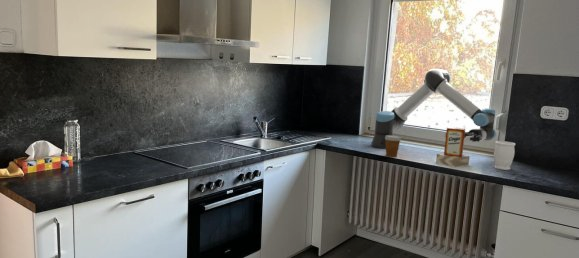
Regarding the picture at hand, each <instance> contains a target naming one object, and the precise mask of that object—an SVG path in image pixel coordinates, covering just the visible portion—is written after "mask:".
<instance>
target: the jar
mask: <svg viewBox="0 0 579 258" xmlns="http://www.w3.org/2000/svg"><path fill="white" fill-rule="evenodd" d="M494 143H495V146H494V150H493V160H494V166H493V168H494V169H497V170H502V171H508V170H511V165H512V164H513V160H514V157H515V152H516V151H515V146H516V143H515V142H512V141H505V140H496V141H495V142H494Z"/></svg>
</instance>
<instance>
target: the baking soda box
mask: <svg viewBox="0 0 579 258" xmlns="http://www.w3.org/2000/svg"><path fill="white" fill-rule="evenodd" d="M465 132H466V128H462V127H453V126H452V127H451V126H447V127H446V131H445V133H446V137H445V143H444V144H445V145H444V152H443V153H444V155H448V156H456V157H462V155H464V154H463V153H464V147H465V146H464V144H465V138H464V137H465Z"/></svg>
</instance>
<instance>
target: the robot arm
mask: <svg viewBox="0 0 579 258" xmlns="http://www.w3.org/2000/svg"><path fill="white" fill-rule="evenodd" d="M450 82H451V75H450V73H449V72H448V71H447V70H445V69H443V68H431V69H429V70H428V71H427V72H426V73H425V75H424V79H423V83H422V85H420V86H419V87H418V88H417V89H416V90H415V91H414V92H413V93H412V94H411V95H410V96H408V98H407V99H406V100H405V101H404V102H402V103H401V105H399V106H398V107H394V108H393V109H392V110H391V111H388V110H384V111H383V110H382V111H378V112H376V114H375V115H376V116H375V124H374V125H375V126H374V135H373V137H372V140H371V144H370V146H371V147H373V148H377V149H378V148H379V149H386V139H385V137H386V135H393V131H395V130H398V129H400V128H402V127H403V126H404V125H405V122H407V121H408V117H409V115H411V114H412V113H413V112H414V111H415V110H416V109H417V108H419V106H421V104H423V102H425V101H426V100H427V99H428V98H429V97H430V96H431V95H432V94H437V93H439V94H440V95H442V96H443V97H444V98H445V99H446V100H448V101H449V102H450V103H451V104H453V105H454V106H455V107H456V108H457V109H459V111H461V112H462V113H463V114H465V116H467V117H468V118H469V119H471V121H472V122H473V124H474V125H475V126H477V127H479V128H472V129H470V130H469V131H465V137H464V142H472V143H473V142H475V143H476V142H478V143H480V142H481V141H482V142H483V141H486V142H487V141H491V140H494V139H495V138H496V136H497V132H496V129H494V126H495V125H494V124H495V118H496V110H495V109H494V108H482V109H480V108H479V106H477V105H476V104H475V103H473V102H472V101H471V100H470V99H468V98H467V97H466V96H465V95H463V94H462V93H461V92H460V91H458V90H457V89H456V88H455V87H454V86H452V85H451V84H450ZM443 136H444V138H446V132H444V135H443Z"/></svg>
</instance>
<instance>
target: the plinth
mask: <svg viewBox="0 0 579 258" xmlns="http://www.w3.org/2000/svg"><path fill="white" fill-rule="evenodd" d="M470 158H471V157H470V156H469V155H466V154H463V155H462V157H456V156H448V155H444V152H442V153H437V154H436V158H435V163H436V164H440V165H445V166H449V167H453V168H455V167H456V168H457V167H463V166H469V163H470Z"/></svg>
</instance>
